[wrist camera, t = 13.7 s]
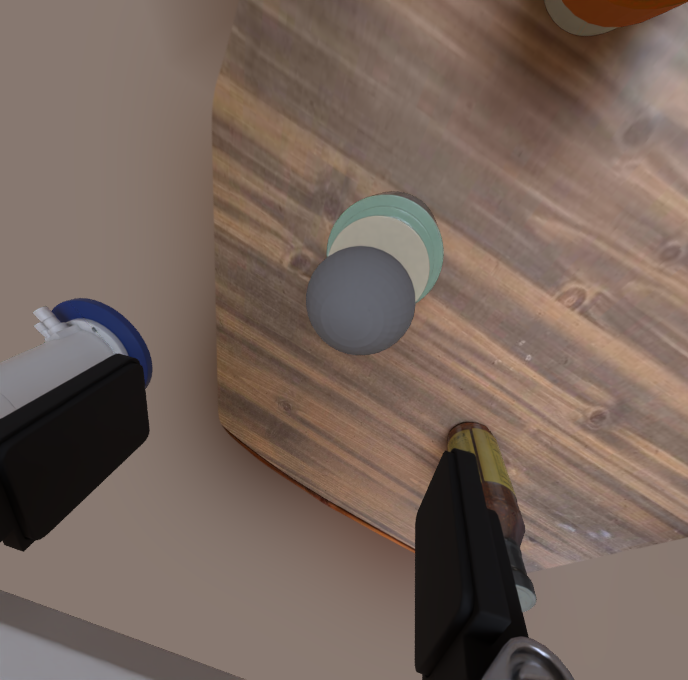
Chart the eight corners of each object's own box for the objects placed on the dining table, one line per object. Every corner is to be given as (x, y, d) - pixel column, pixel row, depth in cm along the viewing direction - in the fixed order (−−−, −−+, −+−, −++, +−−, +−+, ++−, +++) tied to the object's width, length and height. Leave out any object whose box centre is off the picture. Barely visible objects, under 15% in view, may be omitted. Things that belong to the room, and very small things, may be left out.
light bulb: (363, 211, 23) (328, 230, 14) (434, 260, 24) (442, 308, 15) (322, 281, 26) (270, 333, 17) (385, 323, 26) (367, 396, 18)
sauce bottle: (448, 455, 47) (464, 617, 30) (444, 419, 45) (460, 573, 27) (498, 455, 46) (546, 627, 28) (497, 418, 43) (549, 580, 26)
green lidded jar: (329, 226, 37) (286, 248, 25) (408, 169, 33) (402, 164, 22) (376, 300, 40) (357, 352, 28) (455, 256, 36) (472, 293, 24)
